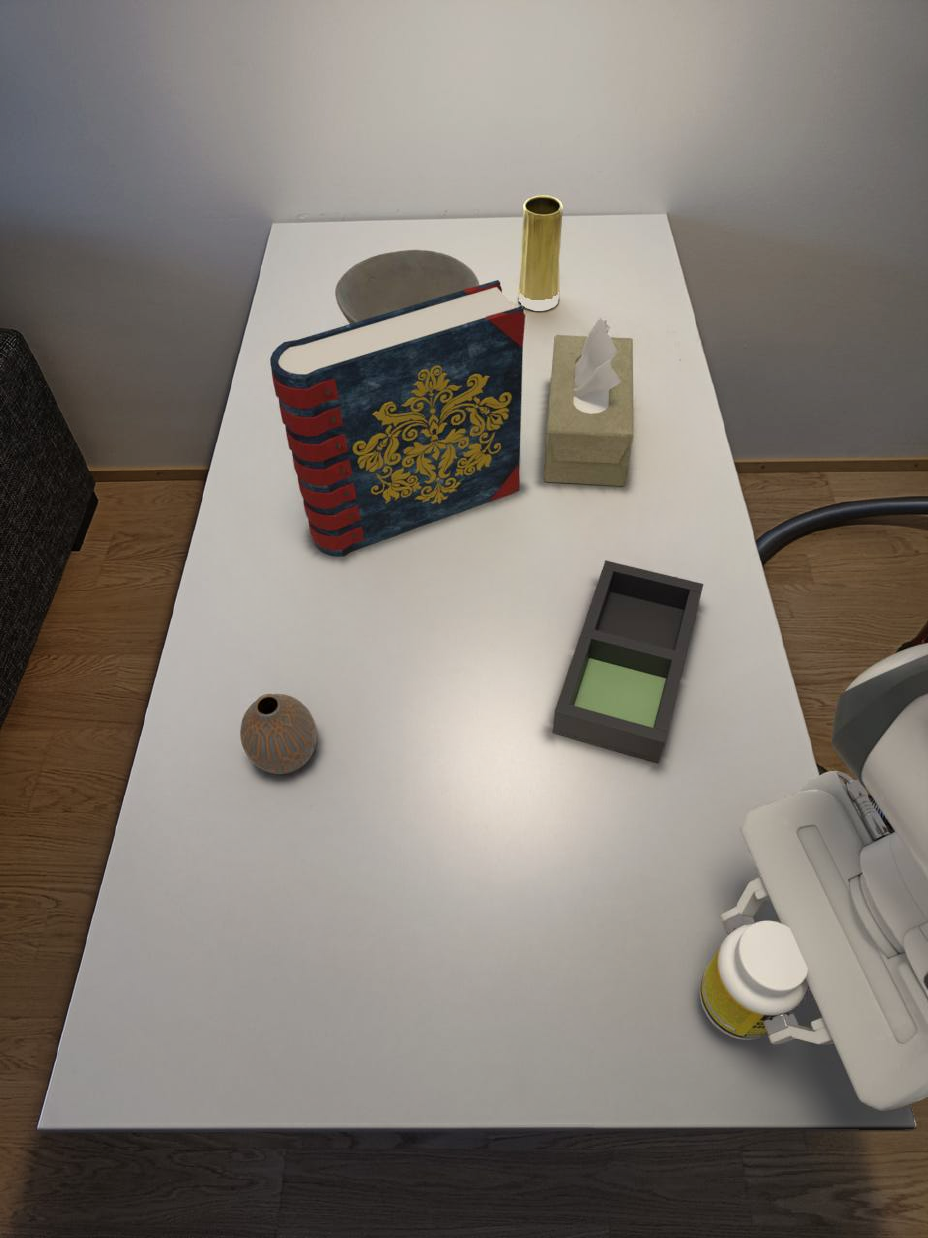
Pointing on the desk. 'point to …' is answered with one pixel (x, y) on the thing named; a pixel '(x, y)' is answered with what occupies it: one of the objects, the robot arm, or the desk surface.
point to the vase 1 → (278, 733)
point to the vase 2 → (540, 248)
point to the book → (404, 415)
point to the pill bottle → (753, 979)
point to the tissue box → (590, 409)
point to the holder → (628, 661)
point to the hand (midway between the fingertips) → (748, 978)
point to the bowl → (399, 282)
